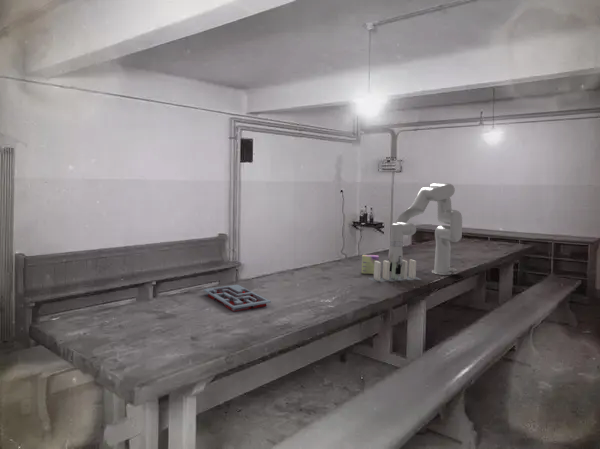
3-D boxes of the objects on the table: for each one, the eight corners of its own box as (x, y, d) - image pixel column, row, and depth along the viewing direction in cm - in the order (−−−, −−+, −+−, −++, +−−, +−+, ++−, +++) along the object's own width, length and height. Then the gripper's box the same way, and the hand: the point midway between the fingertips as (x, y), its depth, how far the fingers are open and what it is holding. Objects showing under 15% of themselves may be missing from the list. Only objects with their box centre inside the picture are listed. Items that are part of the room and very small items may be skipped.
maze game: (270, 307, 221) (270, 300, 221) (233, 313, 210) (233, 307, 210) (237, 290, 250) (237, 284, 250) (203, 295, 239) (203, 289, 238)
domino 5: (411, 276, 288) (412, 259, 286) (415, 278, 283) (416, 261, 282) (408, 276, 287) (409, 259, 286) (412, 278, 283) (413, 261, 281)
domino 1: (376, 278, 281) (377, 260, 279) (380, 280, 276) (381, 262, 275) (373, 278, 280) (374, 260, 279) (377, 280, 275) (378, 262, 274)
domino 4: (402, 277, 286) (403, 259, 285) (406, 279, 281) (407, 261, 280) (399, 277, 286) (400, 259, 284) (404, 279, 281) (405, 261, 279)
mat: (413, 276, 291) (413, 275, 291) (421, 280, 282) (422, 279, 282) (367, 278, 282) (367, 277, 282) (374, 282, 272) (374, 281, 272)
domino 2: (385, 278, 283) (386, 260, 281) (389, 280, 278) (390, 262, 276) (382, 278, 282) (383, 260, 281) (386, 280, 277) (387, 262, 276)
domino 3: (393, 277, 284) (394, 260, 283) (397, 279, 280) (398, 261, 278) (391, 277, 284) (392, 260, 282) (395, 279, 279) (396, 261, 278)
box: (377, 272, 299) (378, 255, 297) (378, 275, 293) (378, 256, 292) (361, 272, 300) (362, 254, 298) (361, 274, 294) (362, 256, 293)
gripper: (384, 241, 286) (382, 269, 288) (398, 246, 270) (396, 276, 272) (395, 241, 288) (393, 269, 291) (409, 246, 272) (407, 275, 274)
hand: (394, 272), depth 281 cm, fingers open, 6 cm apart
